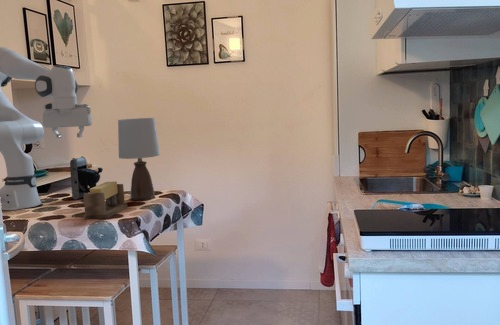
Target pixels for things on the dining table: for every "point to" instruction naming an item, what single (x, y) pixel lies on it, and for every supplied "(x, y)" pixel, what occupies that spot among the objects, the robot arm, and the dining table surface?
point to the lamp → (139, 152)
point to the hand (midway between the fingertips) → (69, 137)
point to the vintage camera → (82, 177)
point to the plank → (106, 189)
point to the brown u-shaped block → (103, 204)
